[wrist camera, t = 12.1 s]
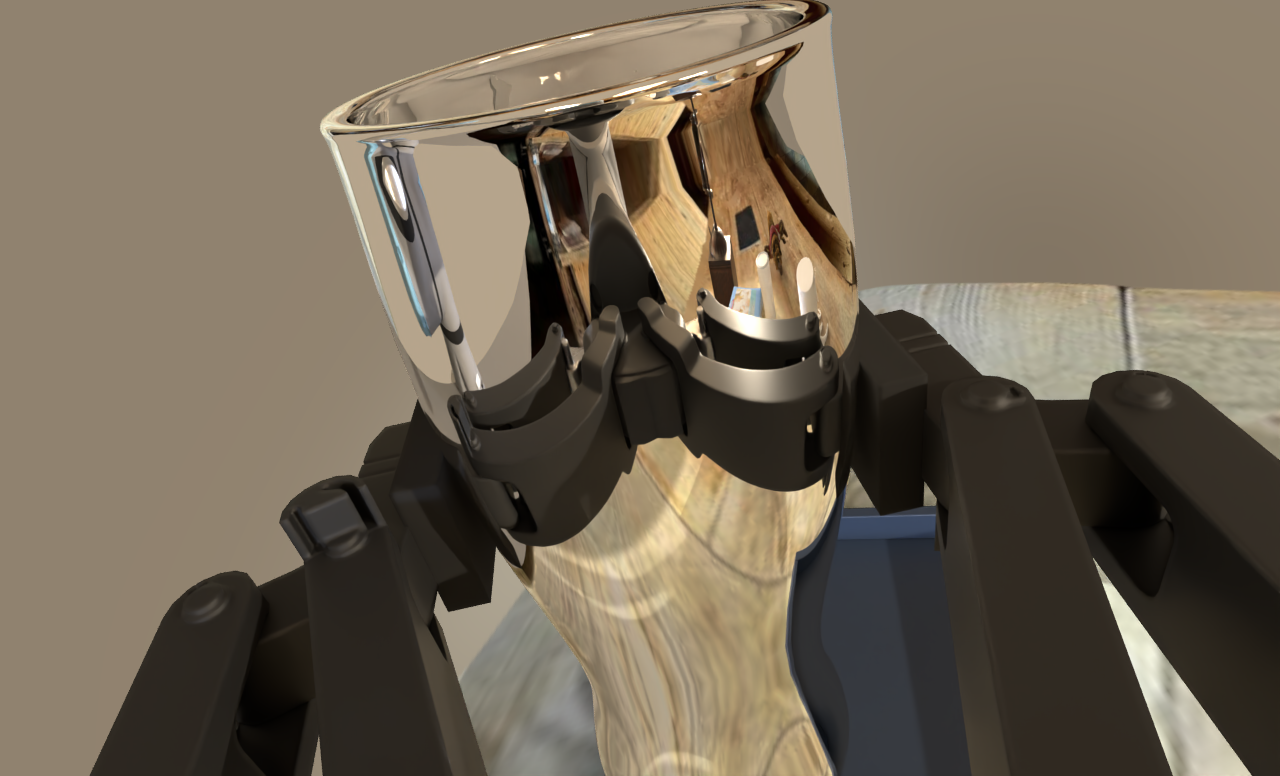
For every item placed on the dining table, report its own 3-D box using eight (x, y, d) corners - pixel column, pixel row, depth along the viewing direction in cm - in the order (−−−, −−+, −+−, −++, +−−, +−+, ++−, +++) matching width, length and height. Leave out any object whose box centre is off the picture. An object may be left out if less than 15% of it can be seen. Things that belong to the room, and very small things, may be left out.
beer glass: (826, 586, 20) (783, -17, 12) (917, 857, 14) (954, 20, 6) (586, 623, 20) (388, 71, 12) (574, 901, 14) (181, 186, 6)
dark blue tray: (610, 880, 23) (596, 851, 22) (667, 541, 36) (660, 512, 34) (1213, 940, 19) (1232, 909, 18) (1041, 534, 31) (1045, 502, 30)
